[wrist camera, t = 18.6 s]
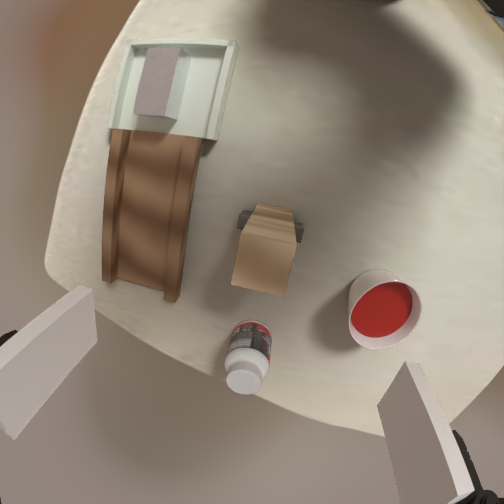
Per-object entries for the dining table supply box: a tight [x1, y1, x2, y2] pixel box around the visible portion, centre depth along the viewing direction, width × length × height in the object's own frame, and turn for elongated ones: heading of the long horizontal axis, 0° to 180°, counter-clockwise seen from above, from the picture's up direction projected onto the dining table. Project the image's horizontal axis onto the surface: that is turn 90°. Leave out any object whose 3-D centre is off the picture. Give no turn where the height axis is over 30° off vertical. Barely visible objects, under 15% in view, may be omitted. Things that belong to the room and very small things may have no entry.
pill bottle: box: [224, 320, 272, 394], centre depth 35 cm, size 5×5×10 cm
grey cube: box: [140, 48, 192, 88], centre depth 27 cm, size 4×4×4 cm
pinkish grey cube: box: [133, 80, 185, 120], centre depth 28 cm, size 4×4×4 cm
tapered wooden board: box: [231, 203, 304, 297], centre depth 27 cm, size 4×7×14 cm, turn 78°
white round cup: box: [348, 269, 422, 350], centre depth 32 cm, size 9×9×6 cm
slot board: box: [102, 128, 203, 303], centre depth 34 cm, size 20×11×3 cm, turn 168°
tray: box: [107, 38, 239, 141], centre depth 29 cm, size 12×14×2 cm
